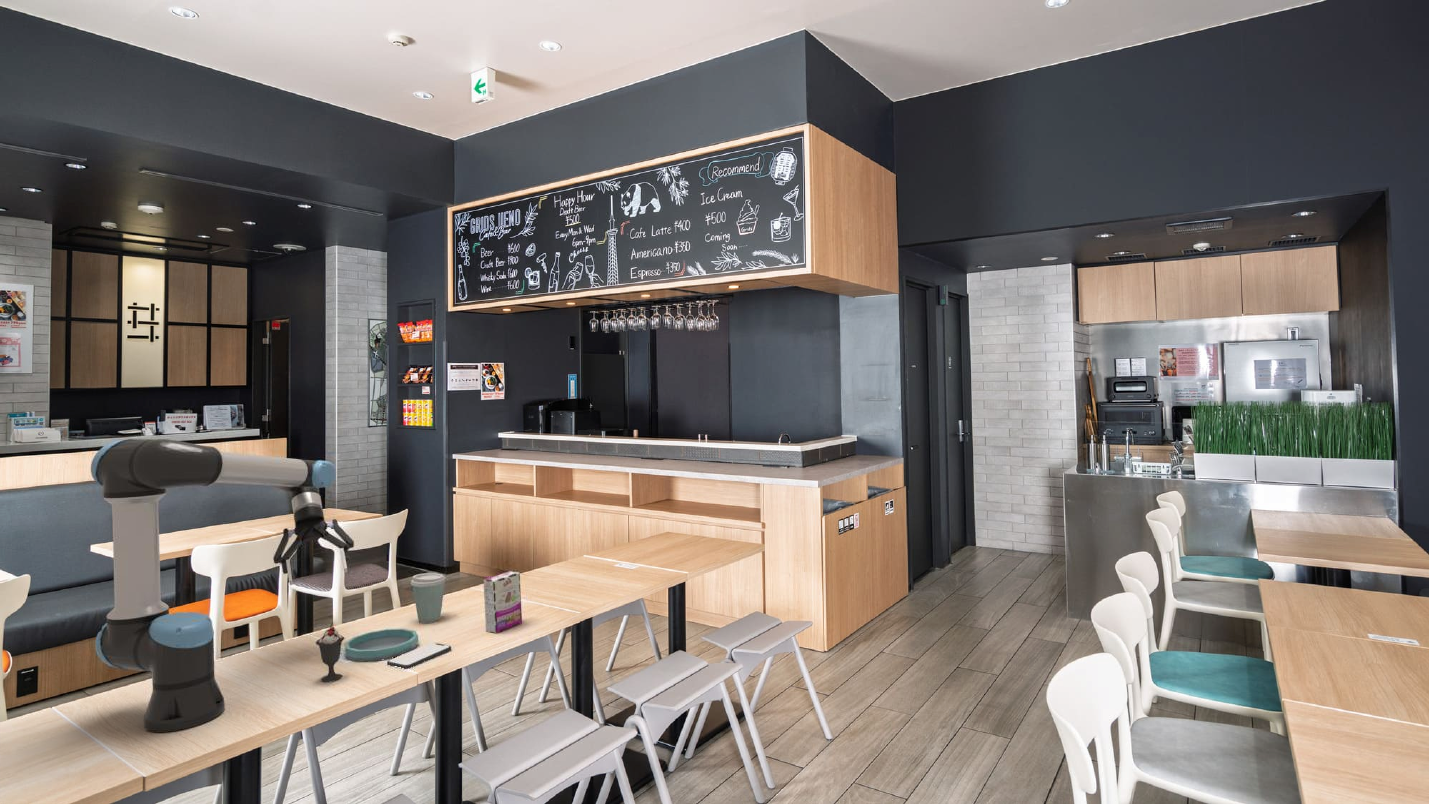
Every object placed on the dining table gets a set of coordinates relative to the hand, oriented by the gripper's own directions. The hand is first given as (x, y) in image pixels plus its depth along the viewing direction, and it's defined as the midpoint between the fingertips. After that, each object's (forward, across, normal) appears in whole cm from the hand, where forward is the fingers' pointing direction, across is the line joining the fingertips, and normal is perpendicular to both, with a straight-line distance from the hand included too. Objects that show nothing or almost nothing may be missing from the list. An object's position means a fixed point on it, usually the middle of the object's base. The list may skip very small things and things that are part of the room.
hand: (318, 576), depth 204 cm
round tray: (+20, -13, -15) cm, 28 cm away
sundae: (+29, +1, -1) cm, 29 cm away
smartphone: (+29, -21, -5) cm, 37 cm away
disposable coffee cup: (+9, -30, -33) cm, 45 cm away
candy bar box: (+24, -48, -16) cm, 56 cm away
